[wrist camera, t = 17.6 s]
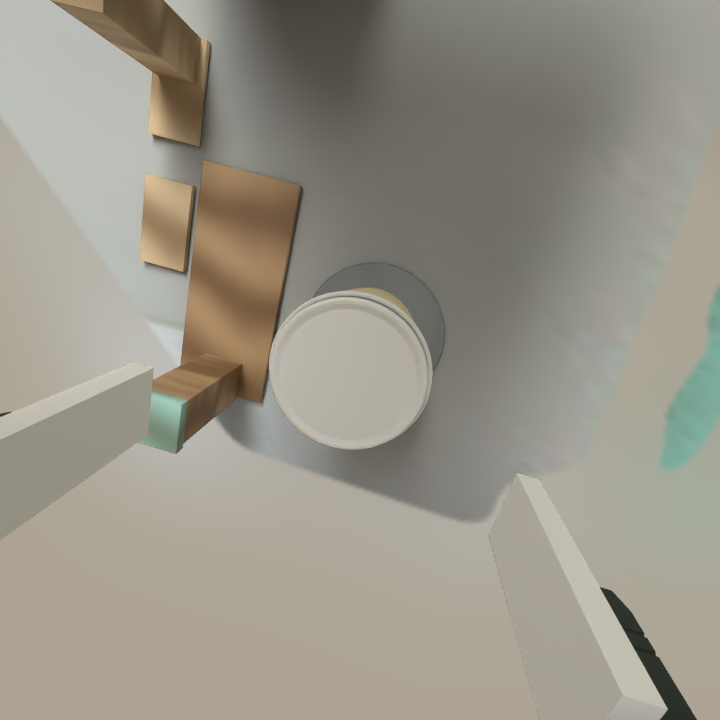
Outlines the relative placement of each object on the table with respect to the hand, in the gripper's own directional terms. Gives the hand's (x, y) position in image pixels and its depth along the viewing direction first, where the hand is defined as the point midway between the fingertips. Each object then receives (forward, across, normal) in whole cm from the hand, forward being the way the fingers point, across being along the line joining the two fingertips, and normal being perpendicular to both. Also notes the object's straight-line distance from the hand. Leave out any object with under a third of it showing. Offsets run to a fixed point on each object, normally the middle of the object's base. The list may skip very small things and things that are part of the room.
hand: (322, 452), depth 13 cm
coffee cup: (+20, 0, 0) cm, 20 cm away
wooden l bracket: (+20, -12, 0) cm, 24 cm away
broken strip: (+20, -19, +8) cm, 29 cm away
